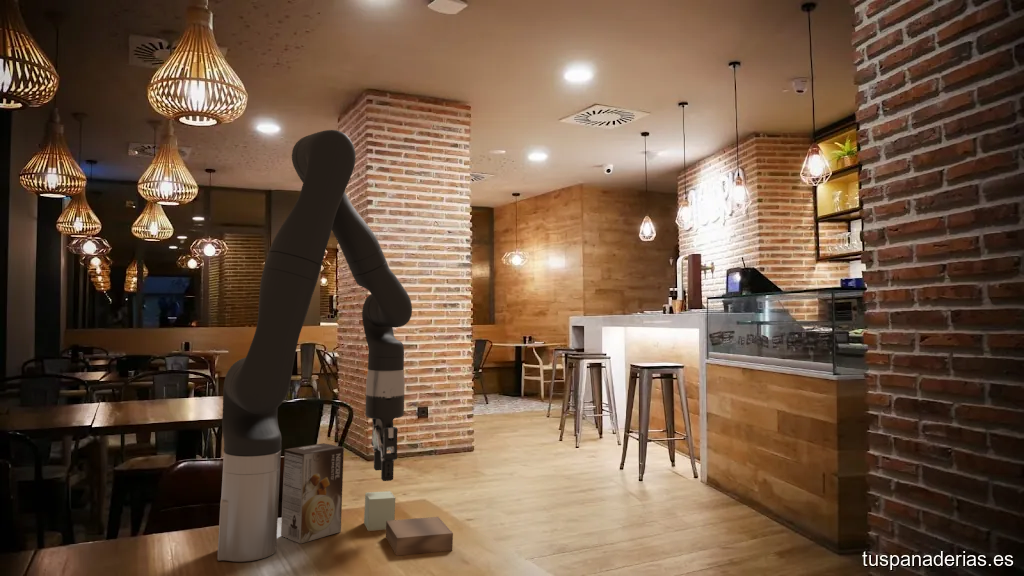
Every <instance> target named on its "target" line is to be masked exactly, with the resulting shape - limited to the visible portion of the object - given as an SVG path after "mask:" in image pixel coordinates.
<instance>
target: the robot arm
mask: <svg viewBox="0 0 1024 576" xmlns="http://www.w3.org/2000/svg"><path fill="white" fill-rule="evenodd" d="M355 149H356V148H355V146H354V143H353V142H352V140H351V138H350V137H349V136H348V135H347V134H346V133H344V132H343V131H340V130H337V129H328V130H327V129H326V130H321V131H317V132H315V133H311V134H309V135H306V136H304V137H302V138H300V139H298V140H297V142H296V143H295V144H294V145H293V148H292V151H291V162H292V166H293V168H294V170H295V172H296V174H297V176H298V177H299V179H300V180H301V182H302V187H301V190H300V193H299V195H298V198H297V201H296V202H295V204H294V206H293V208H292V209H291V211H290V213H288V216H287V217H286V219H284V221H283V223H282V224H281V226H280V228H279V229H278V231H277V233H276V235H275V237H274V238H273V240H272V242H271V245H270V247H269V250H268V254H267V257H266V261H265V264H264V267H263V270H262V274H261V279H260V284H259V294H258V295H259V296H258V312H257V324H256V327H255V332H254V335H253V338H252V341H251V344H250V347H249V349H248V352H247V354H246V356H245V357H243V358H241V359H238V360H237V361H236V362H234V363H233V364H232V365H231V366H230V368H229V369H228V371H227V372H226V375H225V377H224V383H223V391H222V392H223V394H222V416H221V417H222V418H221V422H222V423H221V427H222V428H221V430H222V435H223V461H222V476H221V477H222V479H221V480H222V481H221V495H220V496H221V497H220V502H219V503H220V505H219V507H220V508H219V522H218V524H219V525H218V543H217V561H228V562H242V563H243V562H251V561H257V560H262V559H265V558H268V557H271V556H272V555H273V554H275V553H276V551H277V541H278V535H277V534H278V519H279V518H278V517H279V499H280V498H279V497H280V496H279V495H280V478H281V463H282V462H281V460H282V458H281V455H282V439H283V437H282V433H281V431H280V427H279V421H278V408H279V407H280V406H281V405H282V404H283V402H284V401H285V400H286V398H287V396H288V394H289V390H290V387H291V386H290V385H291V381H292V376H293V370H294V363H295V358H296V353H297V348H298V343H299V338H300V335H301V332H302V329H303V325H304V323H305V320H306V317H307V315H308V311H309V308H310V305H311V301H312V297H313V294H314V292H315V289H316V286H317V283H318V280H319V276H320V272H321V269H322V266H323V262H324V257H325V253H326V252H327V251H326V250H327V247H328V245H329V244H328V243H329V241H330V237H331V234H333V235H334V237H335V239H336V241H337V243H338V245H339V247H340V249H341V252H342V254H343V256H344V259H345V261H346V263H347V266H348V268H349V270H350V272H351V274H352V276H353V279H354V281H355V283H356V284H357V285H358V286H359V287H361V288H364V289H366V290H367V291H369V293H370V294H369V295H368V296H367V297H366V298H365V300H364V303H363V305H362V309H361V311H362V312H361V317H362V318H361V319H362V325H363V331H364V335H365V336H364V337H365V340H366V344H367V348H368V350H367V351H368V353H367V355H368V357H367V375H366V378H365V379H366V381H365V408H364V410H365V412H364V413H365V416H366V417H367V418H369V419H372V420H371V421H372V424H371V425H372V427H371V429H372V430H371V431H372V432H371V446H372V451H373V470H375V471H380V476H381V477H380V479H381V481H382V482H390V481H391V482H392V481H393V480H394V469H395V468H394V465H395V463H394V462H395V460H397V459H398V432H399V430H398V427H397V426H394V420H395V419H399V418H402V417H403V416H404V415H405V389H406V388H405V386H406V385H405V384H406V383H405V382H406V381H405V369H404V367H405V348H404V344H403V342H402V341H400V340H398V339H397V338H396V337H395V334H394V328H403V327H404V326H405V325H407V324H408V323H409V322H410V320H411V317H412V314H413V305H412V301H411V297H410V296H409V294H408V292H407V291H406V289H405V287H404V286H403V285H402V283H401V281H400V280H399V279H398V277H397V276H396V274H395V273H394V272H393V271H392V270H391V268H390V266H389V264H388V261H387V259H386V257H385V254H384V251H383V249H382V247H381V245H380V242H379V241H378V239H377V237H376V235H375V233H374V232H373V230H372V229H371V228H370V226H369V225H368V224H367V222H366V221H365V220H364V218H363V217H362V216H361V214H360V213H359V212H358V211H357V209H356V208H355V207H354V206H353V204H352V202H351V200H350V199H349V197H348V195H347V193H346V189H347V187H348V185H349V182H350V180H351V177H352V175H353V172H354V169H355V165H356V159H357V157H356V156H357V155H356V150H355ZM387 451H390V452H387Z"/></svg>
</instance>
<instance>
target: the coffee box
mask: <svg viewBox="0 0 1024 576" xmlns="http://www.w3.org/2000/svg"><path fill="white" fill-rule="evenodd" d="M344 450H345V448H344V446H338V445H333V444H329V443H323V442H322V443H317V444H312V445H311V444H310V445H303V446H297V447H291V448H285V449H284V451H283V478H282V481H283V482H282V500H281V501H282V502H281V523H280V524H281V527H280V536H281V537H282V536H283V537H282V538H284V537H285V539H287V538H288V539H287V540H289V541H290V540H291V541H292V542H295V543H297V544H304V543H308V542H311V541H316V540H317V539H321V538H324V537H329V536H330V535H331V536H332V535H334V534H338V533H341V532H342V515H343V514H342V511H343V509H342V507H343V505H342V504H343V486H344V485H343V477H344Z"/></svg>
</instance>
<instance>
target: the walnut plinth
mask: <svg viewBox="0 0 1024 576" xmlns="http://www.w3.org/2000/svg"><path fill="white" fill-rule="evenodd" d="M385 539H386V540H387V542H388V543H389V545H390V548H391V549H392V550H393V552H394V554H395V556H397V557H398V556H406V555H417V554H426V553H436V552H437V553H438V552H446V551H449V552H450V551H453V543H454V542H453V539H454V533H453V531H452V530H451V529H450V528H449V527H448V525H446V523H444V522H443V520H442V519H441V518H440V517H439V516H432V517H430V516H429V517H417V518H406V519H395V520H389V521H386V529H385Z"/></svg>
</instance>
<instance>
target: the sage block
mask: <svg viewBox="0 0 1024 576" xmlns="http://www.w3.org/2000/svg"><path fill="white" fill-rule="evenodd" d="M364 496H365V497H364V515H363V524H364V526H365V527H366V529H367V531H368V532H370V531H383V530H385V531H386V521H389V520H396V519H395V515H396V497H395V495H394V494H393V492H392V491H391V490H388V491H387V490H386V491H371V492H370V491H369V492H365V495H364Z"/></svg>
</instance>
